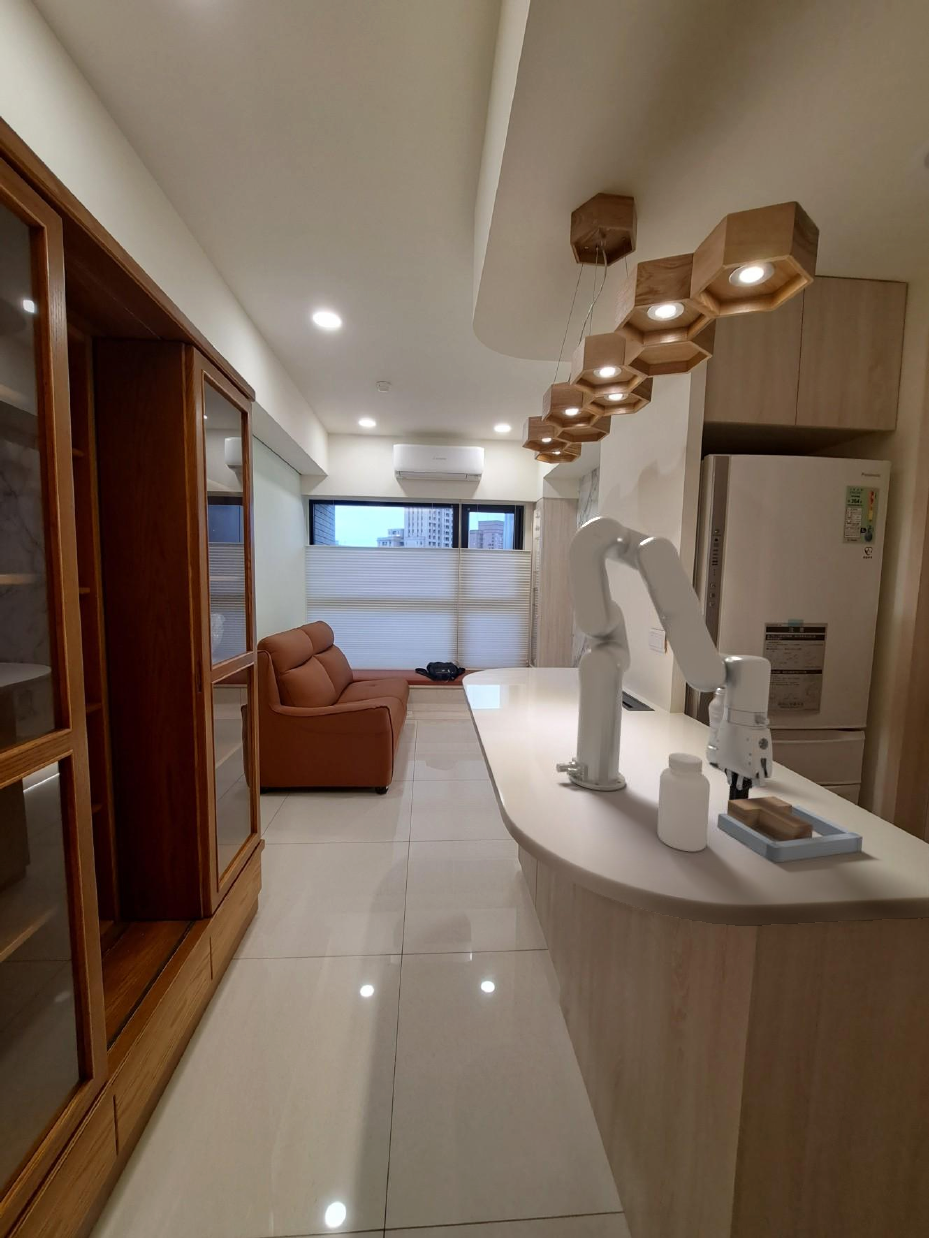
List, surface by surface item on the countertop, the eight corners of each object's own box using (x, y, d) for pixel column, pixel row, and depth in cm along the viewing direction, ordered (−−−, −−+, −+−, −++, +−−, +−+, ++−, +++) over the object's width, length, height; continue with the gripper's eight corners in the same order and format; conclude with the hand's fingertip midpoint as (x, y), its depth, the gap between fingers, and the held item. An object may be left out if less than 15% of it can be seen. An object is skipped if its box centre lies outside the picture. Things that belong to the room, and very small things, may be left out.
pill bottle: (649, 828, 87) (654, 748, 86) (693, 830, 87) (698, 750, 86) (666, 851, 79) (672, 764, 78) (715, 854, 79) (721, 767, 78)
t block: (776, 851, 81) (778, 828, 80) (726, 820, 91) (728, 800, 91) (826, 844, 83) (828, 822, 83) (772, 815, 94) (773, 796, 94)
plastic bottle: (738, 770, 118) (743, 691, 117) (709, 767, 120) (714, 689, 119) (729, 761, 125) (734, 686, 124) (701, 758, 126) (706, 684, 125)
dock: (773, 862, 77) (774, 848, 77) (717, 826, 89) (718, 813, 88) (861, 850, 82) (862, 836, 82) (797, 817, 93) (798, 805, 93)
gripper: (793, 727, 88) (786, 822, 89) (730, 707, 103) (724, 789, 104) (760, 728, 86) (753, 825, 87) (701, 708, 101) (696, 791, 102)
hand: (738, 805), depth 96 cm, fingers closed
